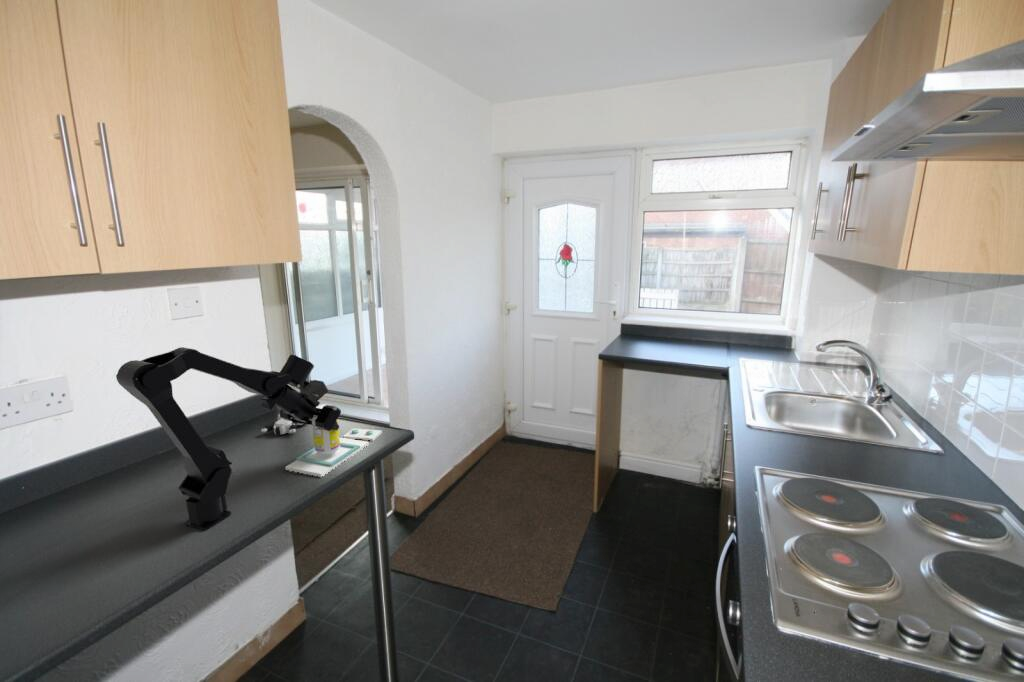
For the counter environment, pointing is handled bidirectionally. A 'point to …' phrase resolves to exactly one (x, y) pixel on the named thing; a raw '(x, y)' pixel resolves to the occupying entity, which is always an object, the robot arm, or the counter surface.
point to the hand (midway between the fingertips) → (329, 426)
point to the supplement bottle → (325, 438)
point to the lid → (363, 434)
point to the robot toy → (281, 426)
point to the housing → (326, 458)
